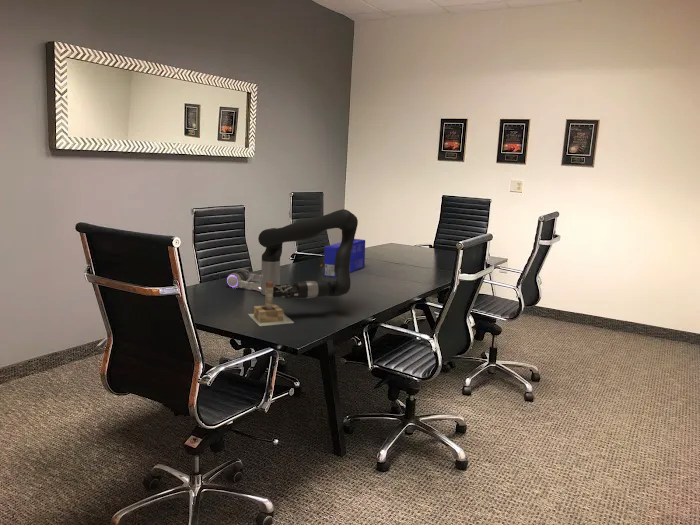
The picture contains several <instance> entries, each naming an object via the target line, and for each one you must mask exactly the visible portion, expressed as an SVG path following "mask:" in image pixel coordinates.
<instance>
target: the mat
mask: <svg viewBox="0 0 700 525" xmlns="http://www.w3.org/2000/svg"><path fill="white" fill-rule="evenodd" d="M247 315H248V316H249V317H250V318H251V319H252V320H253V321H254V322H255V323H256V324H257V325H258V326H259V327H265V326H277V325H286V324H294V323H295V322H294V321H293V320H292V319H291V318H290V317H288V316H287V315H286V314H285V313H283V321H276V322H265V323H260V322H259V321H258V320H257V319H256V318H255V317H254V313H247Z"/></svg>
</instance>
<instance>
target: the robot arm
mask: <svg viewBox="0 0 700 525" xmlns="http://www.w3.org/2000/svg"><path fill="white" fill-rule="evenodd" d="M358 224H359V220H358V217H357V216H356V215H355V214H354V213H353V212H351V211H349V210H348V209H339V210H335V211H333V212H330V213H327V214H324V215H321V216H315V217H313V218H308V219H307V218H306V219H303V220H299V221H297V222H296V221H295V222H294V223H290V224H287V225H285V226H283V227H271V228H265V229H264V230H262V231H260V233H259V234H258V243H259V245H261V246H262V247H264V248H265V250H264V252H263V253H262V254H261V274H260V275H261V292H260V294H261V295H263V296H265V293H266V282H267V281H272V282H273V298H281V297H282V298H284V299H292V298H293V299H294V298H295V299H297V300H301V299H313V298H318V297H319V298H320V297H339V296H342V295H346V294H347V293H349V291H350V289H351V274H350V273H351V272H350V273H349V269H350V258H351V251H352V246H353V241H354V239H355V236H356V233H357V229H358ZM332 229H333V230H334V229H339V230H341V240H340V241H341V244H340V247H339V249H338V251H337V253H336V256H335V265H334V272H335V273H336V277H337V278H335V279H336V280H332V281H326V280H305V281H304V280H302V281H295V282H294V283H293V285H290V284H288V283H286V284H281V283H280V280H281V278H280V277H281V257H282V254H283V243H290V242H300V241H305V240H309V239H313V238H316V237H318V236H319V235H320V234H322V233H323V232H324V231H326V230H332Z"/></svg>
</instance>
